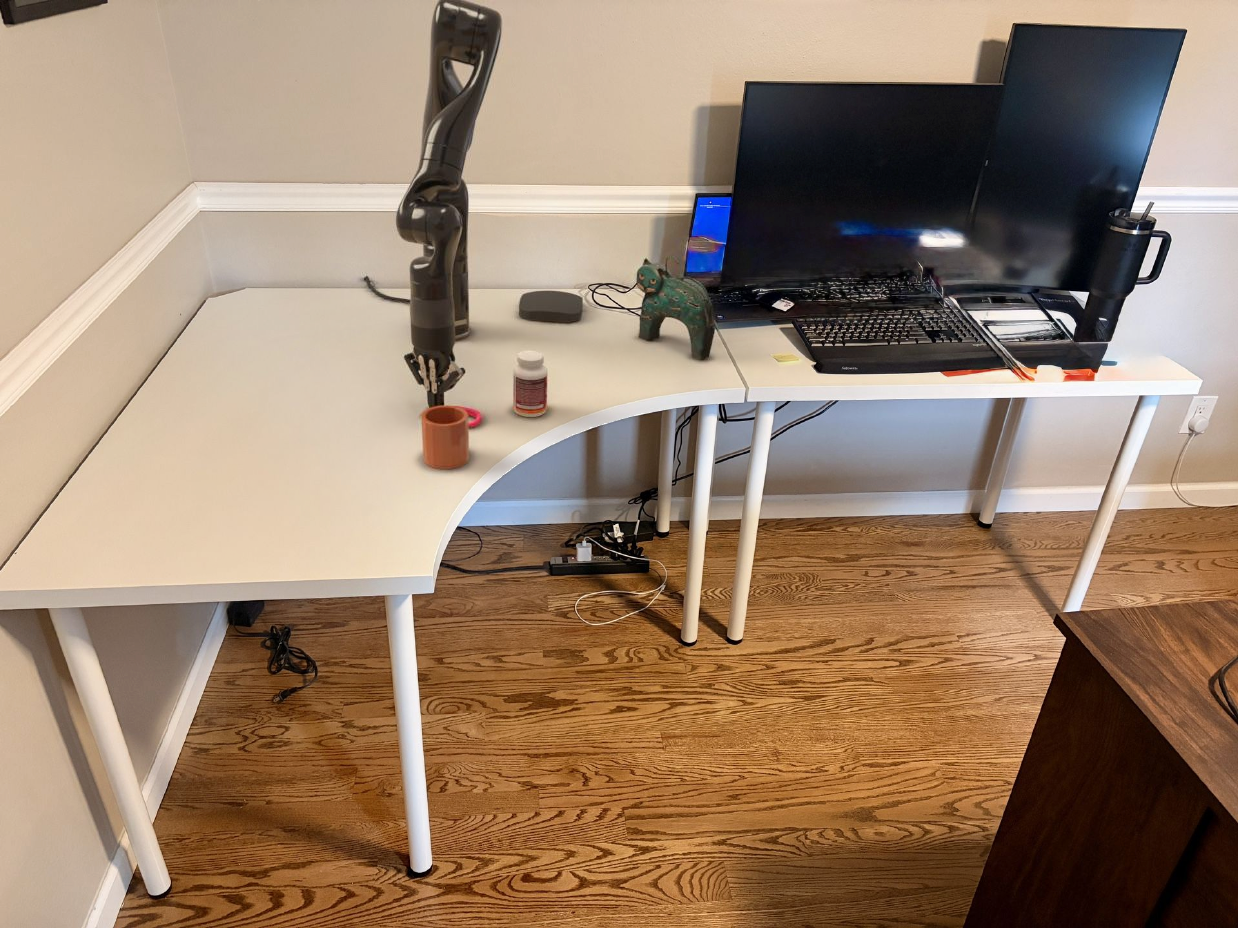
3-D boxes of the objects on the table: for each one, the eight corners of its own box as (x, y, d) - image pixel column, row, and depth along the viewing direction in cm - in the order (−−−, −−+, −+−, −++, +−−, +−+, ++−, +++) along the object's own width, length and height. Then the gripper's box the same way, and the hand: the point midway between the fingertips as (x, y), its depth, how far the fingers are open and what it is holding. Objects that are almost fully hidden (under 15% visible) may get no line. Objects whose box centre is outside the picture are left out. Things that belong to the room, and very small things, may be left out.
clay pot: (414, 460, 149) (411, 416, 145) (444, 443, 155) (442, 401, 151) (448, 474, 146) (446, 430, 142) (478, 456, 151) (477, 413, 147)
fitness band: (431, 421, 161) (430, 413, 161) (448, 408, 166) (447, 401, 165) (471, 431, 159) (471, 423, 158) (487, 418, 164) (487, 410, 163)
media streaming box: (580, 324, 208) (581, 312, 206) (516, 320, 208) (516, 308, 206) (583, 303, 221) (583, 291, 219) (523, 299, 220) (523, 287, 219)
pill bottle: (552, 414, 167) (554, 358, 161) (523, 421, 164) (523, 364, 158) (536, 401, 171) (537, 346, 166) (507, 407, 168) (507, 352, 163)
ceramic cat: (629, 336, 203) (636, 248, 193) (648, 330, 207) (655, 243, 198) (699, 364, 192) (709, 272, 182) (717, 356, 196) (728, 266, 186)
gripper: (476, 322, 156) (477, 412, 164) (419, 304, 162) (423, 391, 170) (447, 334, 150) (449, 427, 159) (388, 315, 156) (394, 405, 165)
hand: (435, 408), depth 164 cm, fingers closed
